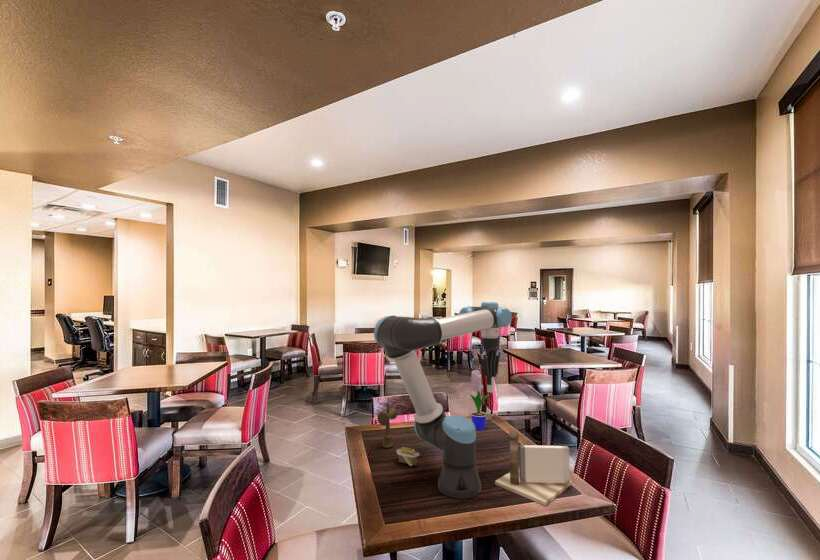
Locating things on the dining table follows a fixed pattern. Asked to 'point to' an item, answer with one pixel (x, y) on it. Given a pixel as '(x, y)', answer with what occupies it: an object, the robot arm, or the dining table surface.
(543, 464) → the gate
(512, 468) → the gate frame
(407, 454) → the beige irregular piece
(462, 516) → the dining table surface
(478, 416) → the hyacinth
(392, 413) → the kendama
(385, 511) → the dining table surface
